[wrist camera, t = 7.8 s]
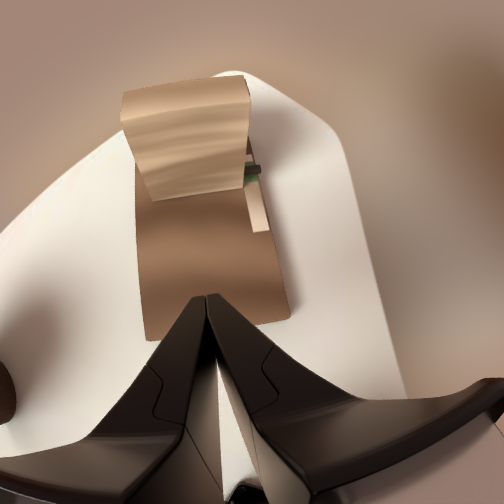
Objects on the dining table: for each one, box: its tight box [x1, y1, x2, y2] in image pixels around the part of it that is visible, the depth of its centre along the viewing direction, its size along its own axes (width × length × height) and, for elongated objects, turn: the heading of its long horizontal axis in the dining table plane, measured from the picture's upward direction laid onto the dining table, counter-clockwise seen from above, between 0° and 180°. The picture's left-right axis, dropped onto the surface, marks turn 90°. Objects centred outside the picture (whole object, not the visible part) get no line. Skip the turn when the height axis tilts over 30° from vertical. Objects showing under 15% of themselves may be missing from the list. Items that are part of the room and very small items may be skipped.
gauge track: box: [135, 79, 291, 341], centre depth 20 cm, size 16×10×7 cm, turn 11°
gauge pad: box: [120, 75, 261, 201], centre depth 19 cm, size 2×9×9 cm, turn 101°
